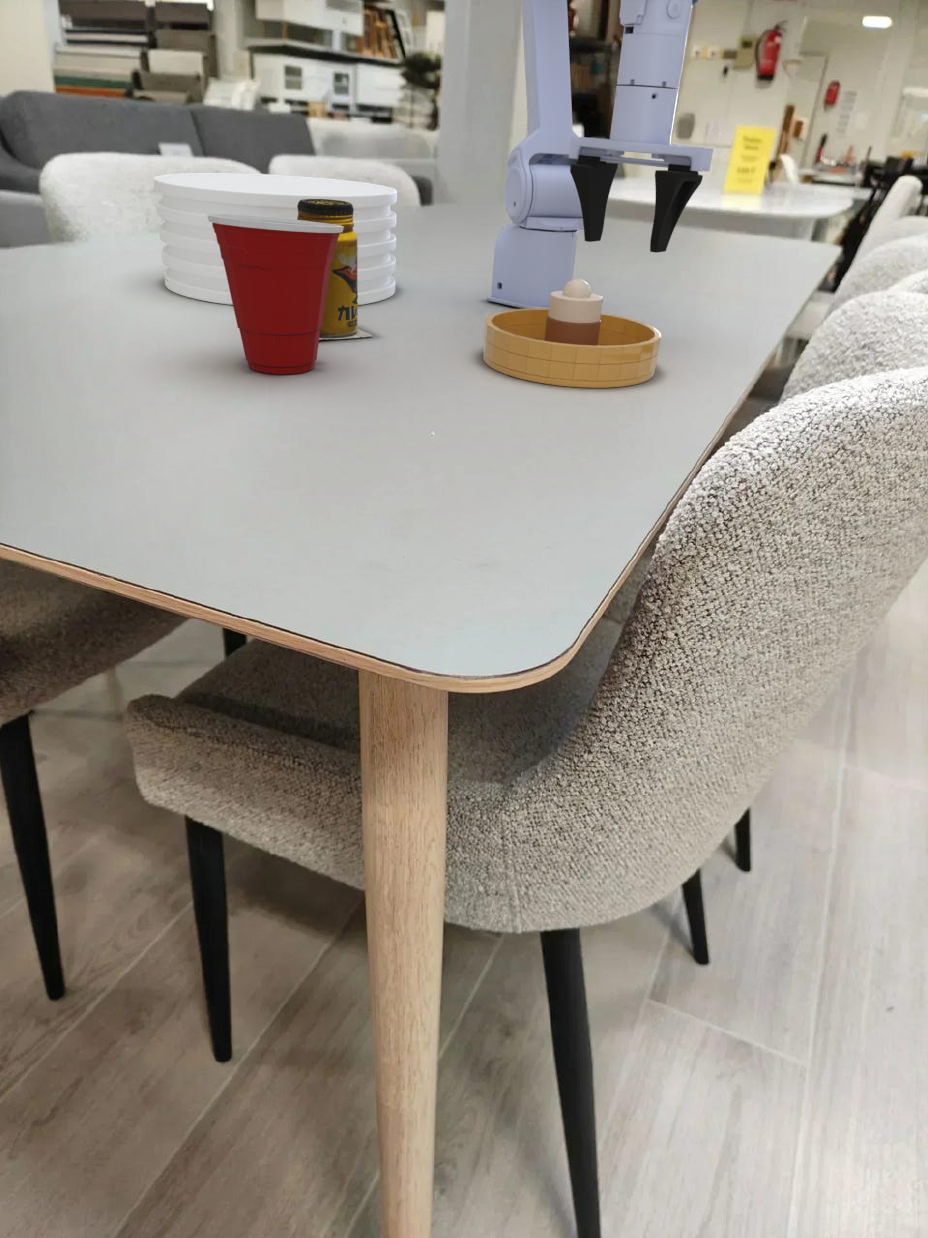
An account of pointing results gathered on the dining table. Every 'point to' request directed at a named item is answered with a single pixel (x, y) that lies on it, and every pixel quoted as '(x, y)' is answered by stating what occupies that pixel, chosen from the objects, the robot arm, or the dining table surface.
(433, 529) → the dining table surface
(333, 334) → the condiment
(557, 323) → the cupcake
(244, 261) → the plastic cup
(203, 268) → the plate stack
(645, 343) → the bowl
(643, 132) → the robot arm
